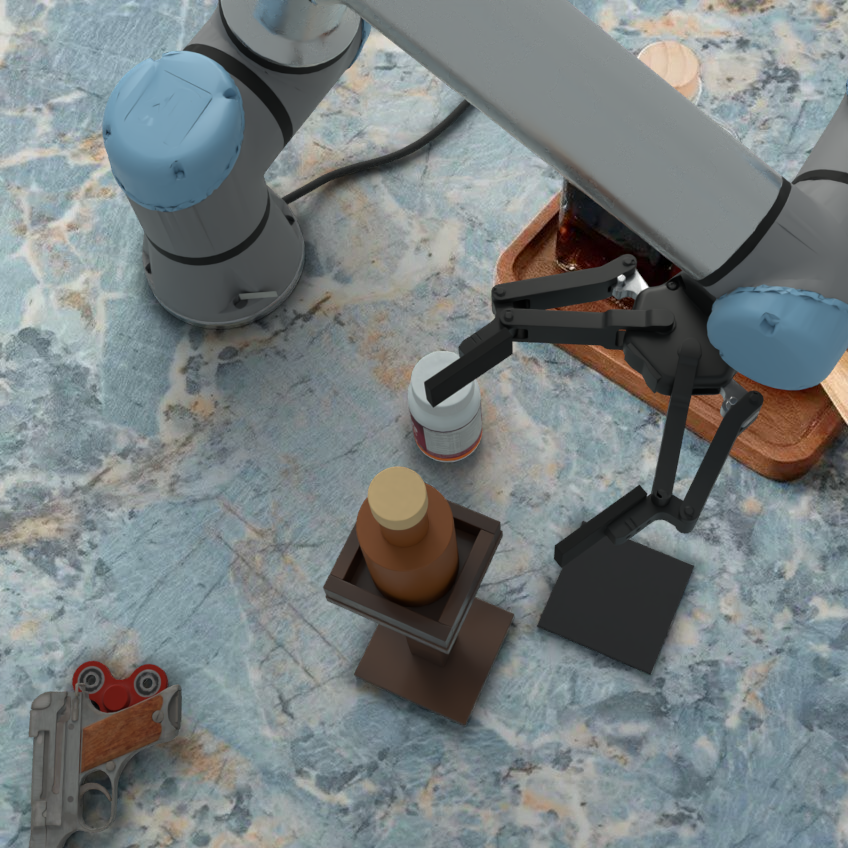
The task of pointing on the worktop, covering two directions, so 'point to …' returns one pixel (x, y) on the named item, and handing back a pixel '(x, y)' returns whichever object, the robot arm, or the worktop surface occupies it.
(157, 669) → the fidget spinner
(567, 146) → the robot arm
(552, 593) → the mat
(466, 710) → the holder
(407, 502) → the bottle
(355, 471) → the worktop surface
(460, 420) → the pill bottle
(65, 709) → the pistol
